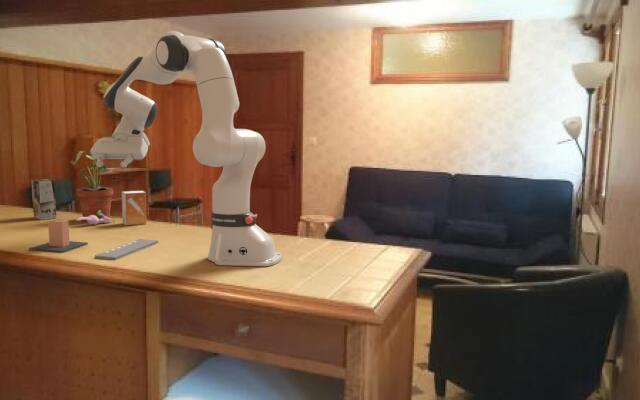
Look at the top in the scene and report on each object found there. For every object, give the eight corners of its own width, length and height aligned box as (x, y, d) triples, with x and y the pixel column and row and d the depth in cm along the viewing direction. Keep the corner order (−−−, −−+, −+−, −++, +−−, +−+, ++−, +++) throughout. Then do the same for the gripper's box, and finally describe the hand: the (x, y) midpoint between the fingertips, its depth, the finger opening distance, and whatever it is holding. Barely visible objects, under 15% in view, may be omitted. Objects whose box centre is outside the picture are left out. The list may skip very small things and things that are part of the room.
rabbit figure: (107, 224, 212) (72, 223, 199) (109, 210, 212) (74, 208, 199) (116, 226, 208) (81, 225, 196) (118, 211, 208) (83, 210, 196)
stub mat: (87, 244, 170) (87, 242, 170) (62, 252, 159) (62, 250, 158) (56, 241, 173) (56, 240, 173) (29, 250, 161) (29, 248, 161)
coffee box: (57, 218, 215) (55, 180, 213) (40, 220, 211) (38, 181, 208) (49, 215, 222) (47, 178, 219) (33, 217, 217) (30, 179, 215)
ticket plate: (158, 242, 174) (158, 240, 174) (115, 259, 151) (115, 256, 151) (139, 241, 176) (139, 238, 176) (94, 258, 153) (94, 255, 153)
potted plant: (93, 215, 223) (90, 134, 218) (122, 218, 218) (119, 135, 213) (65, 221, 209) (60, 135, 204) (94, 224, 204) (91, 135, 199)
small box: (126, 225, 202) (125, 193, 201) (122, 223, 208) (121, 191, 206) (147, 224, 207) (146, 192, 205) (142, 221, 212) (141, 190, 210)
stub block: (69, 244, 166) (68, 220, 165) (63, 246, 164) (61, 222, 162) (56, 243, 167) (54, 219, 166) (49, 245, 165) (48, 221, 163)
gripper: (96, 131, 187) (79, 159, 179) (147, 131, 183) (132, 160, 174) (104, 143, 192) (88, 171, 184) (154, 143, 187) (140, 172, 179)
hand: (110, 166), depth 179 cm, fingers open, 8 cm apart
